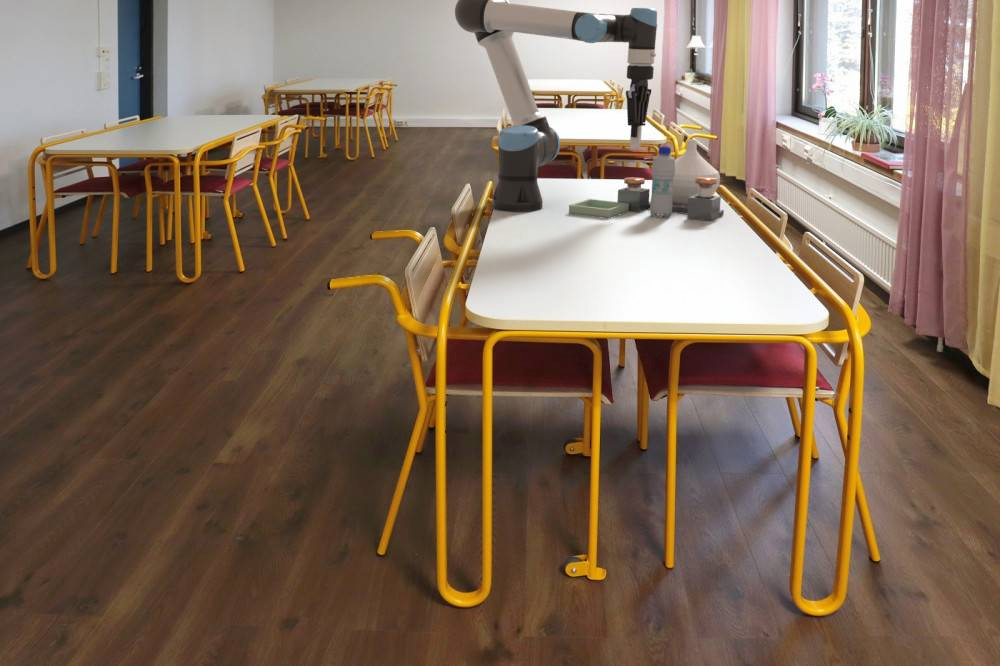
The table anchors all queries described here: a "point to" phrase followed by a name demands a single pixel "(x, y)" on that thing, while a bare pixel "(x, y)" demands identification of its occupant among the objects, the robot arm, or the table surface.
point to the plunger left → (634, 183)
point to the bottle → (662, 183)
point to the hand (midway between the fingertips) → (634, 148)
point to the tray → (598, 208)
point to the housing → (694, 210)
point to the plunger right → (705, 186)
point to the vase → (690, 174)
